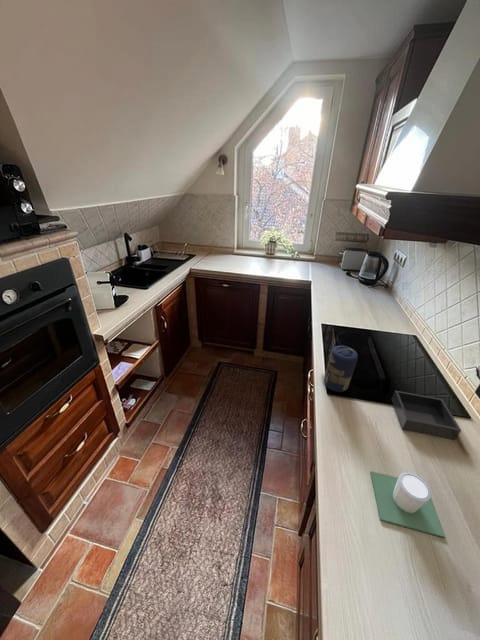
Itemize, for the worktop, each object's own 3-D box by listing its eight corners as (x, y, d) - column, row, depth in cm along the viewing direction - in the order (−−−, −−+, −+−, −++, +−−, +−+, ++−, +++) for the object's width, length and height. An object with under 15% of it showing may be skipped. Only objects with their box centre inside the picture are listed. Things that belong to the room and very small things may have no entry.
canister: (321, 376, 107) (330, 340, 98) (344, 378, 106) (355, 343, 97) (325, 392, 99) (334, 355, 90) (350, 395, 98) (362, 358, 89)
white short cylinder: (384, 492, 67) (392, 477, 64) (402, 482, 69) (411, 467, 66) (408, 521, 61) (418, 506, 58) (426, 508, 64) (437, 493, 60)
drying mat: (424, 485, 69) (425, 484, 69) (444, 538, 59) (445, 537, 59) (370, 472, 72) (370, 471, 72) (379, 520, 62) (380, 519, 62)
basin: (436, 408, 93) (442, 398, 91) (454, 440, 82) (461, 430, 80) (391, 399, 97) (395, 390, 94) (401, 429, 85) (406, 419, 83)
